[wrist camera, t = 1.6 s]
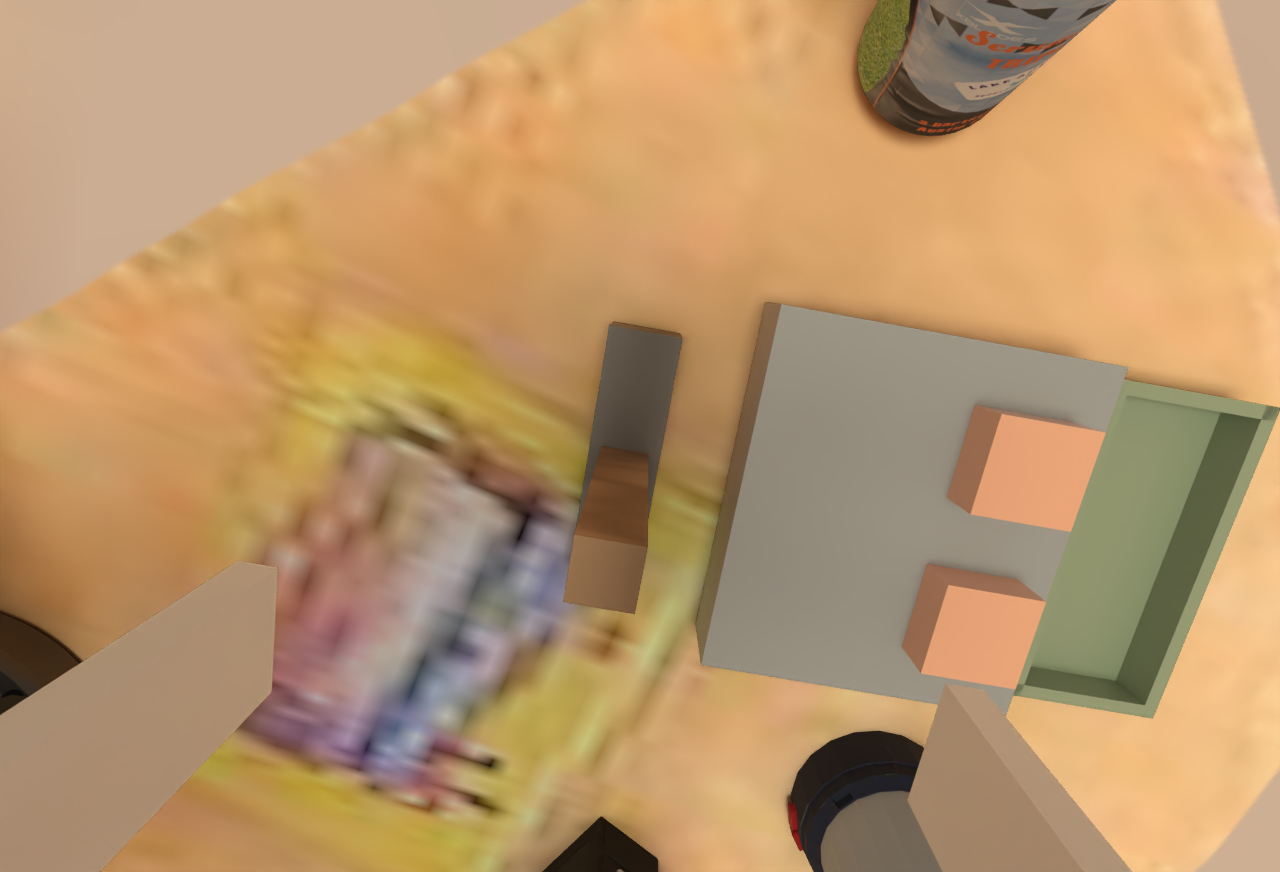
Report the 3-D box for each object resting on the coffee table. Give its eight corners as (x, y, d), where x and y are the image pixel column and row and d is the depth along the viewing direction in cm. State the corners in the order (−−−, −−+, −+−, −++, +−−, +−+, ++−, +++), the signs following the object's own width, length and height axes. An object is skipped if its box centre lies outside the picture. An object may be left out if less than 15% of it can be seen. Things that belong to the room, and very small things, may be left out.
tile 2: (946, 497, 26) (970, 514, 24) (974, 404, 26) (1001, 413, 24) (1039, 514, 26) (1071, 531, 25) (1071, 421, 26) (1106, 432, 24)
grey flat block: (695, 624, 32) (701, 665, 28) (765, 302, 28) (781, 304, 25) (967, 670, 32) (1005, 715, 29) (1071, 357, 28) (1128, 367, 25)
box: (980, 663, 32) (1007, 694, 30) (1078, 370, 29) (1118, 378, 26) (1114, 686, 32) (1152, 718, 30) (1227, 397, 29) (1281, 408, 26)
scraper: (573, 565, 31) (521, 753, 19) (613, 321, 29) (584, 346, 16) (633, 575, 31) (622, 769, 19) (679, 333, 29) (702, 367, 16)
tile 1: (901, 646, 28) (920, 673, 26) (926, 563, 27) (948, 585, 25) (990, 661, 28) (1015, 689, 26) (1017, 579, 27) (1046, 601, 25)
